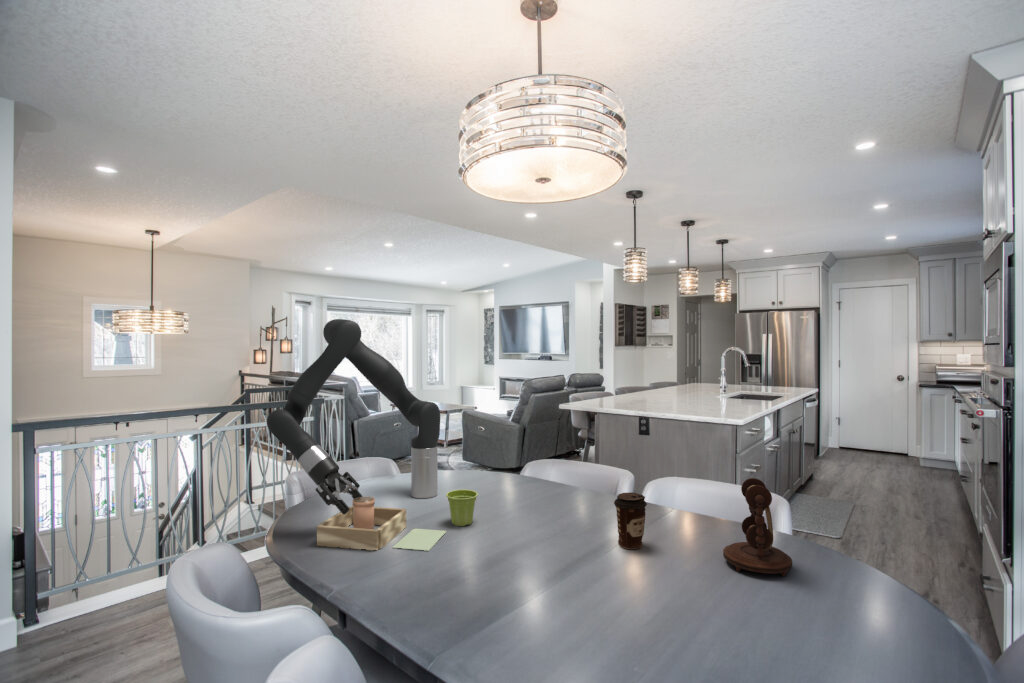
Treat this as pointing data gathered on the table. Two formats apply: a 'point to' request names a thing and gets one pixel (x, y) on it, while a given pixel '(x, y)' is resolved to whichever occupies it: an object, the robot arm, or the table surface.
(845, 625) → the table surface
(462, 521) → the plant pot
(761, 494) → the brown wooden stand
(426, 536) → the green mat
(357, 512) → the seedling pot
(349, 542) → the frame
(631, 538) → the coffee cup
